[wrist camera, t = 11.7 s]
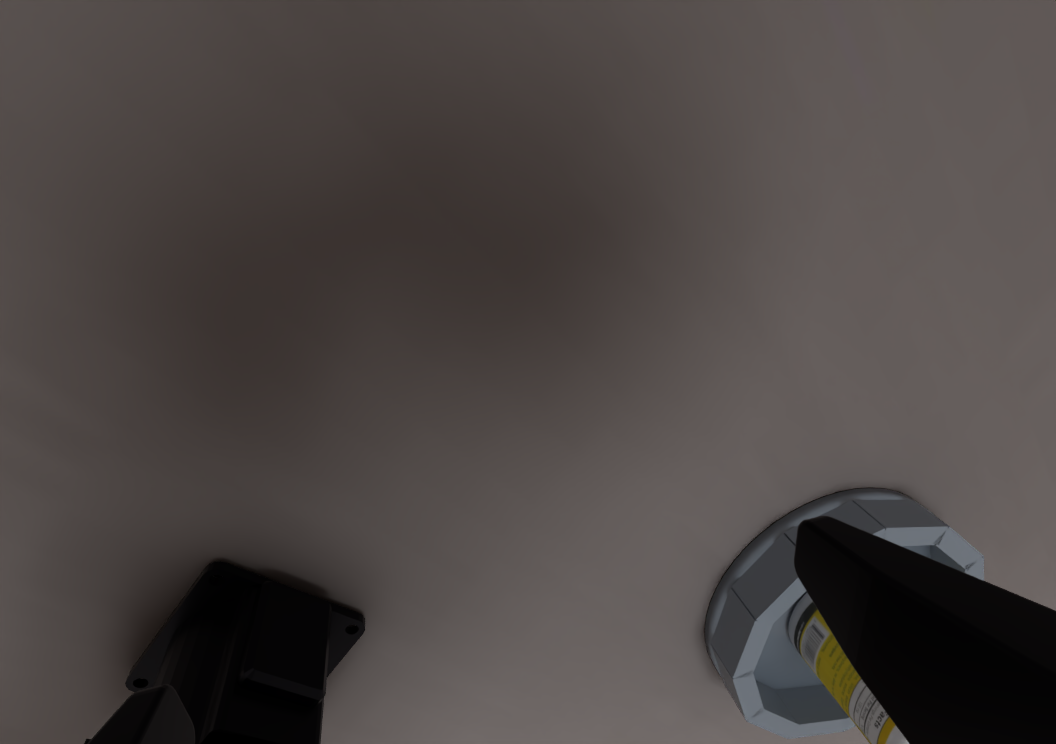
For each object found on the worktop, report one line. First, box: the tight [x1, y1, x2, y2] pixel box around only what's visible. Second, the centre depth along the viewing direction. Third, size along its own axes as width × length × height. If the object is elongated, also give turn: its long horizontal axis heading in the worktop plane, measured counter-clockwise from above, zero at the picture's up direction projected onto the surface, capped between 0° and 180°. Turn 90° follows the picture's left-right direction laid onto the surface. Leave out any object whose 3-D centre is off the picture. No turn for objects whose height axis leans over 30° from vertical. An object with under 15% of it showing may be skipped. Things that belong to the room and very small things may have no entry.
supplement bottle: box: [788, 593, 909, 744], centre depth 26 cm, size 5×5×10 cm
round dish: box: [705, 488, 984, 739], centre depth 30 cm, size 13×13×3 cm
